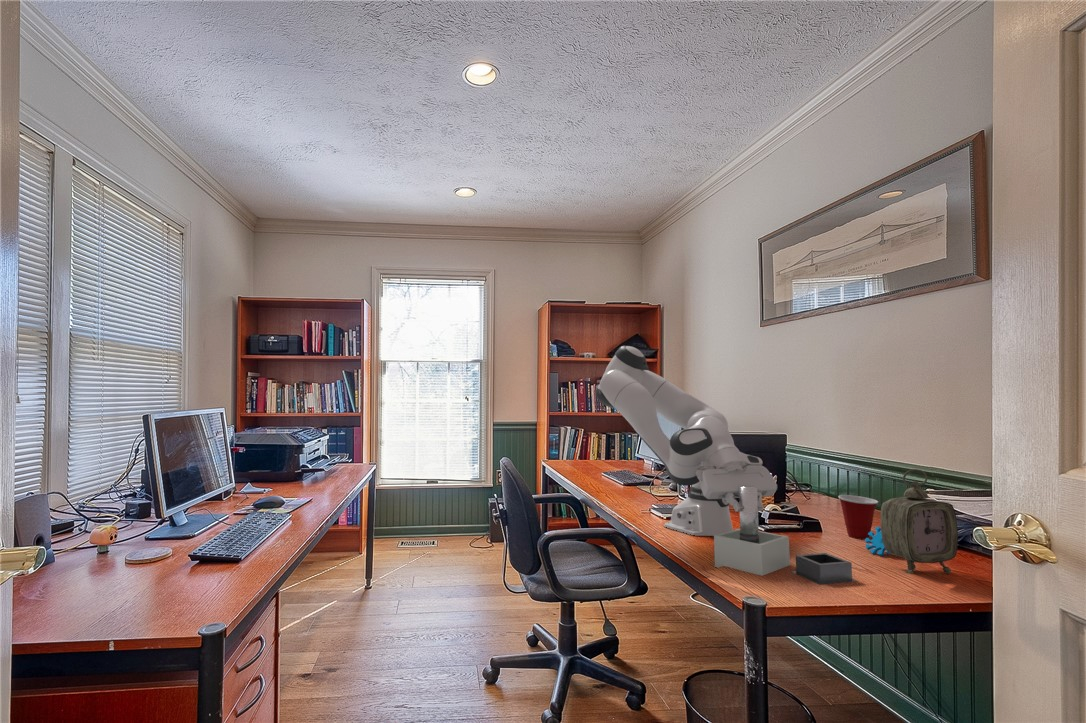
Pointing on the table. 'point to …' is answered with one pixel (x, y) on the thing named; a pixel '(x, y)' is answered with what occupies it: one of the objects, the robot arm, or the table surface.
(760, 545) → the bin
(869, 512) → the plastic cup
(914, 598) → the table surface
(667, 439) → the robot arm
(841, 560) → the socket block
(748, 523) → the strut
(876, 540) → the gear
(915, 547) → the tabletop clock
